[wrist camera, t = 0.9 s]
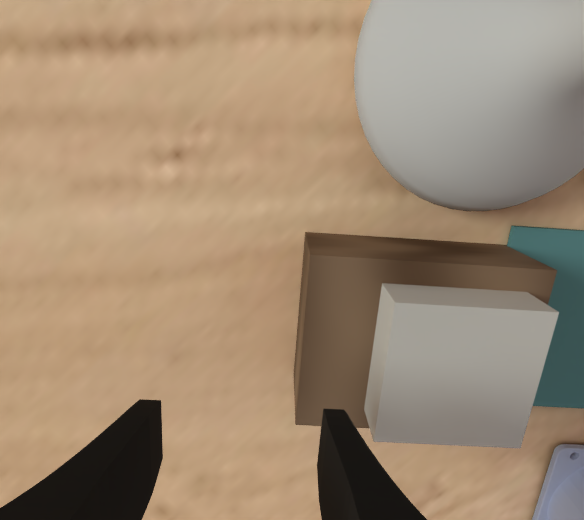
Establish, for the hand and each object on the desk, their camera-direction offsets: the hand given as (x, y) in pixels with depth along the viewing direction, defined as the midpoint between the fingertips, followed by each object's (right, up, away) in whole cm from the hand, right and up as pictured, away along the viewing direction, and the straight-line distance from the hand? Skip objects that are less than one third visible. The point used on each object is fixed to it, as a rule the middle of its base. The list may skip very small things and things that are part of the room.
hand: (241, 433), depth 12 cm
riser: (+7, +2, +9) cm, 12 cm away
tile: (+8, +1, +5) cm, 10 cm away
